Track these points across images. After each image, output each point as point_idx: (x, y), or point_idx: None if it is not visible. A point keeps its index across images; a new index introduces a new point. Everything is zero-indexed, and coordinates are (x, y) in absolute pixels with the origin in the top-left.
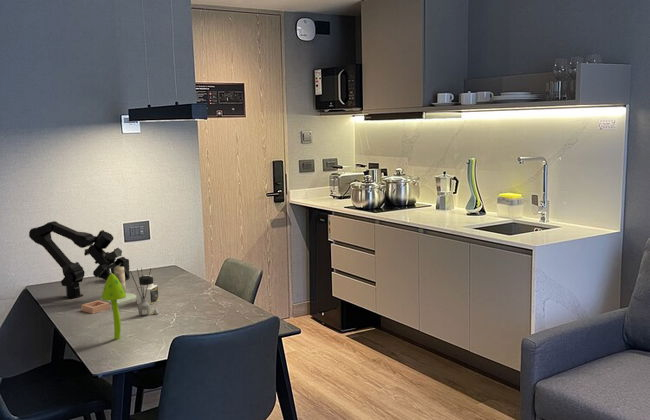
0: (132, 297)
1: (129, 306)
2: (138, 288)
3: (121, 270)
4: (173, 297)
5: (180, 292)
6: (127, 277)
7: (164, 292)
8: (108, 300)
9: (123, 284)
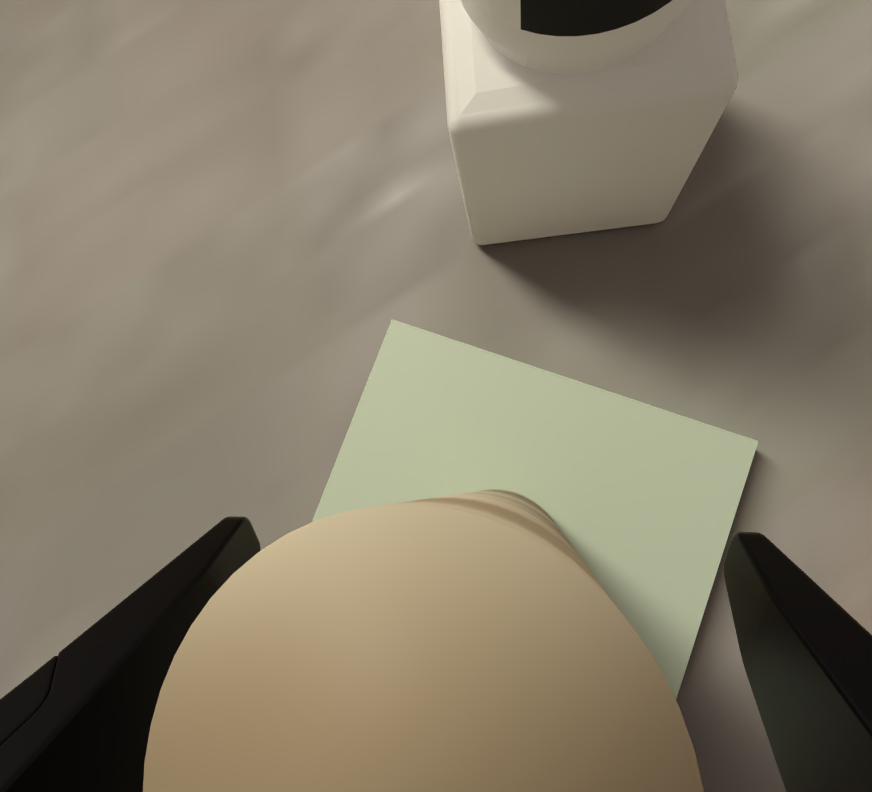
0: (470, 401)
1: (767, 258)
2: (716, 39)
3: (538, 531)
4: (339, 11)
5: (165, 53)
6: (253, 548)
7: (175, 206)
8: (671, 664)
9: (510, 496)
